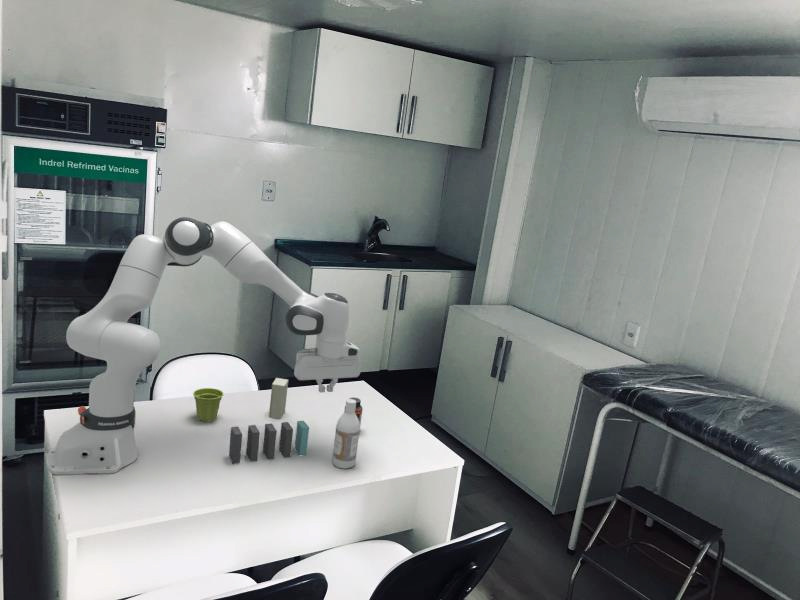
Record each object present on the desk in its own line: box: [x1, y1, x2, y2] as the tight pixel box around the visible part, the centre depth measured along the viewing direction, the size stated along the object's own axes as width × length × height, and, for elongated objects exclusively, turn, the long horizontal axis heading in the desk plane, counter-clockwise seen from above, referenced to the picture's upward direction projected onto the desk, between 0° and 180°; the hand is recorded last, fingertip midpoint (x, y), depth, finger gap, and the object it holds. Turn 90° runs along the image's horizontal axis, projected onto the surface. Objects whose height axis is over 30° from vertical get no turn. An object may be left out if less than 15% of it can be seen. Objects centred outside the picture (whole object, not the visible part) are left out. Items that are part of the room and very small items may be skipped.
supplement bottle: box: [343, 396, 363, 425], centre depth 208 cm, size 6×6×11 cm
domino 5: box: [294, 420, 310, 456], centre depth 190 cm, size 2×5×9 cm, turn 28°
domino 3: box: [262, 423, 278, 461], centre depth 185 cm, size 2×5×9 cm, turn 28°
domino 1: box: [228, 426, 243, 464], centre depth 180 cm, size 2×5×9 cm, turn 28°
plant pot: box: [192, 387, 224, 423], centre depth 204 cm, size 9×9×9 cm
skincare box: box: [268, 377, 289, 420], centre depth 213 cm, size 6×4×12 cm
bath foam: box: [331, 398, 361, 470], centre depth 185 cm, size 7×7×20 cm
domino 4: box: [278, 421, 294, 459], centre depth 187 cm, size 2×5×9 cm, turn 28°
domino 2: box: [245, 424, 261, 463], centre depth 182 cm, size 2×5×9 cm, turn 28°
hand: (325, 391), depth 189 cm, fingers closed
